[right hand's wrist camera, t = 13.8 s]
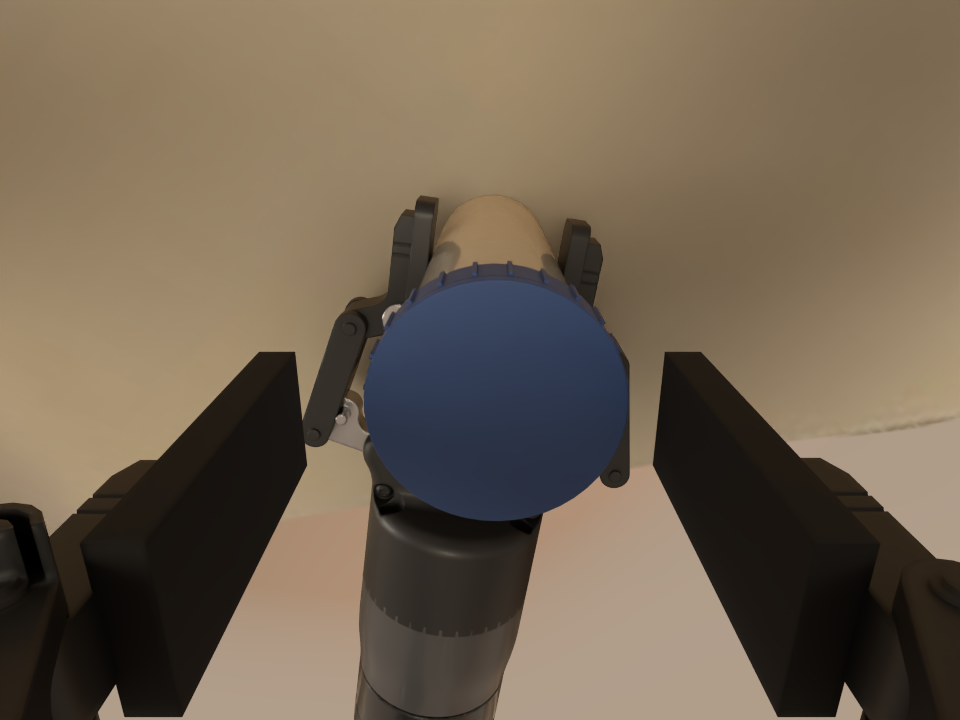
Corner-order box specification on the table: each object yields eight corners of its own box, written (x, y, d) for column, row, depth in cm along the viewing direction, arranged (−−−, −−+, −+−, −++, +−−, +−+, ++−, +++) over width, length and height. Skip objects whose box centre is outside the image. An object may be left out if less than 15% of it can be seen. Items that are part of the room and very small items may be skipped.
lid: (624, 256, 14) (639, 272, 13) (613, 485, 16) (624, 521, 15) (361, 263, 14) (347, 280, 13) (383, 489, 17) (372, 526, 15)
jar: (544, 193, 30) (613, 288, 13) (544, 298, 32) (604, 495, 15) (436, 196, 30) (373, 294, 14) (442, 300, 32) (392, 499, 15)
